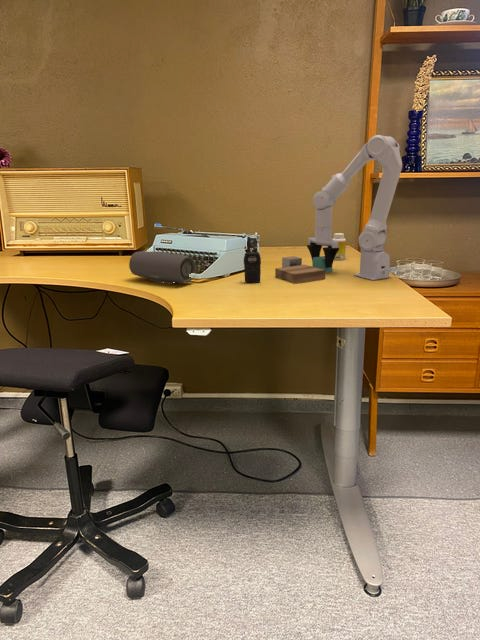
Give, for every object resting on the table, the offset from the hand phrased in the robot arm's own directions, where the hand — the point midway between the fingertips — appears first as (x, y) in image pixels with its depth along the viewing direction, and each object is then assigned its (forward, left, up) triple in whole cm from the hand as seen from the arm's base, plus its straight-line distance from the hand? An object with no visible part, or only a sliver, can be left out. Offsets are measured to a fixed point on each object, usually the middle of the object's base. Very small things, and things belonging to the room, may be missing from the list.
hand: (322, 265), depth 168 cm
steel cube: (+6, +9, -2) cm, 11 cm away
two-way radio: (-1, +29, -2) cm, 29 cm away
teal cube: (0, 0, -2) cm, 2 cm away
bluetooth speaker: (+16, +54, -2) cm, 56 cm away
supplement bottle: (+16, -20, -2) cm, 26 cm away
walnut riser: (-5, +13, -2) cm, 14 cm away
